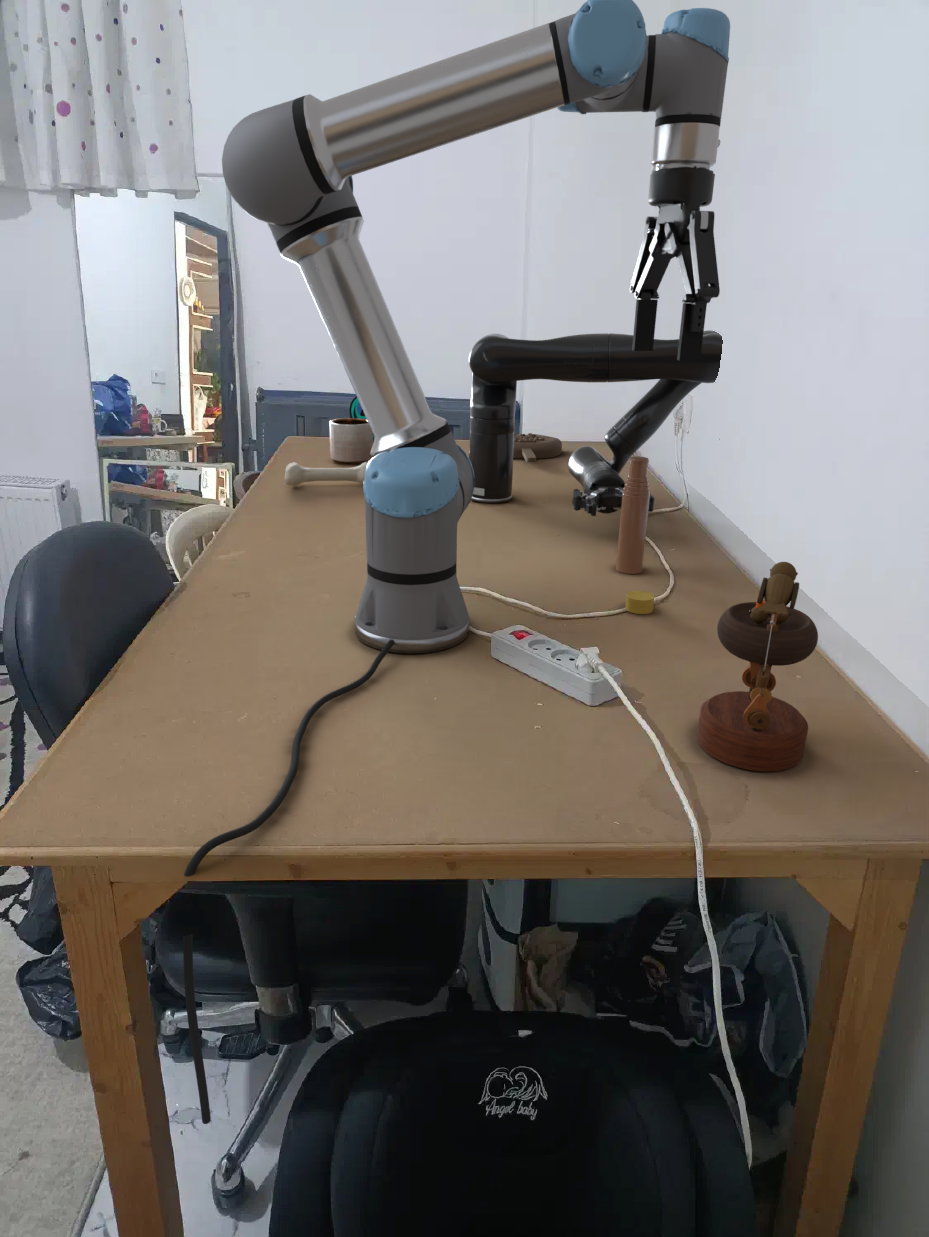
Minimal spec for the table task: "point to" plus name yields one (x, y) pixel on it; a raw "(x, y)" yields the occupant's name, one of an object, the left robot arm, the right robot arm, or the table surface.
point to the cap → (639, 602)
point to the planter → (350, 440)
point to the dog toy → (323, 474)
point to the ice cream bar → (535, 447)
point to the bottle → (633, 518)
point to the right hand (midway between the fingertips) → (618, 511)
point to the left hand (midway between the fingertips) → (664, 355)
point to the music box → (760, 680)
